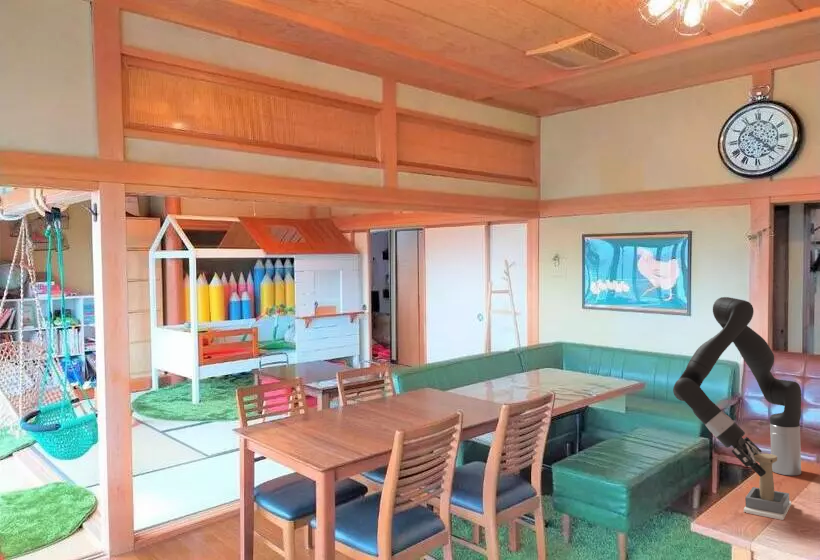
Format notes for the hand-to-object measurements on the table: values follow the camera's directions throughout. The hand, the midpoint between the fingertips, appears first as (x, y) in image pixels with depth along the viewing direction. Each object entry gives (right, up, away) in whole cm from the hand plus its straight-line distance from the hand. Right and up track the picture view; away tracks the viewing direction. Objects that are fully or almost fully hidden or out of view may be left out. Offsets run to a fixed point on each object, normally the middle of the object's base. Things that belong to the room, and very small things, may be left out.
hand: (766, 471), depth 187 cm
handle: (+1, -11, +1) cm, 11 cm away
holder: (0, -12, 0) cm, 12 cm away
